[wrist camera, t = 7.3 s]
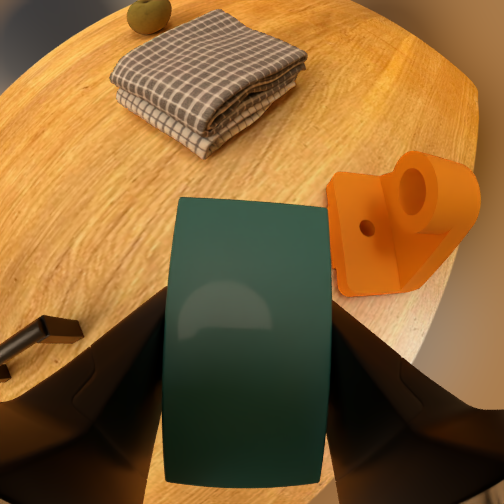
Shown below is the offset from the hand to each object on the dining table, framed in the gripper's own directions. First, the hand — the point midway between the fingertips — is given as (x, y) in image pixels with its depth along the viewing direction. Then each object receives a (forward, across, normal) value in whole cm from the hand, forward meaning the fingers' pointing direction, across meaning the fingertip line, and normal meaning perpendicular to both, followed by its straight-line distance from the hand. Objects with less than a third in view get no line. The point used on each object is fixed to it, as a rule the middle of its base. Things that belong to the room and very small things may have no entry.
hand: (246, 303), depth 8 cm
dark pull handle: (+6, +19, +14) cm, 24 cm away
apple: (+41, +18, -22) cm, 50 cm away
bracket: (+15, -12, +4) cm, 19 cm away
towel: (+27, +4, -8) cm, 29 cm away
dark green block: (+4, 0, +6) cm, 7 cm away
